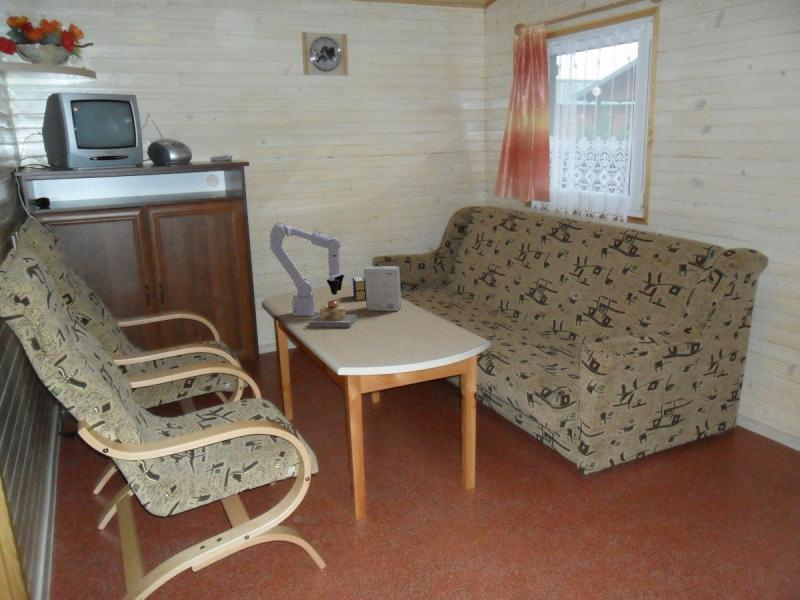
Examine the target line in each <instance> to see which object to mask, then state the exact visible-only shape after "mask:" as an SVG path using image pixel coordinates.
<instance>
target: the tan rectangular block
mask: <svg viewBox="0 0 800 600" xmlns="http://www.w3.org/2000/svg"><path fill="white" fill-rule="evenodd" d="M346 309H347V308H346V305H337V308H328V304H326V305H325V304H323V305H322V306H321V307H320V308H319V312H320V317H321V320H343V319H344V318H345V317H346V315H347V312H346V311H347V310H346Z"/></svg>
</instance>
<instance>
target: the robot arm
mask: <svg viewBox="0 0 800 600" xmlns="http://www.w3.org/2000/svg"><path fill="white" fill-rule="evenodd" d="M292 236H294V237H298V238H301V239H306V240H309V241H310V242H311V244H312V245H313V246H318V247H319V248H320V247H321V248H324V249H328V254H327V259H328V278H329V279H326V283H327V284H328V286H329V289H330V293H331V295H335V296H336V295H337V294H338V291H339V292H340V291H341V290H342V286H343V281H344V278H345V272H342V260H341V259H342V258H341V244H340V240H339V239H338V238H337V237H335V236H332V235H326V234H324V233H322V232H321V231H318V232H317V231H315V232H313V233H312V232H309V231H307V230H303V229H300V228H298V227H295V226H293V225H290V224H284V223H281V222H277V223H275V224H274V225H273V227H272V229H271V231H270V234H269V239H270V241H269V242H270V243H269V244H270V250H271V251H272V253H273V254H274V256H275V257H276V259H277V260H278V261H279V263H280V264H281V266H282V267H283V268H284V270H285V272H287V274H288V275H289V277H290V278H291V280H292V281H293V283H294V286H295V288H296V290H297V294H296V295H293V296H292V302H291V303H292V317H293V316H295V317H297V316H298V317H302V316H303V317H306V316H307V317H312V316H314V315H315V314H316V313H317V310H315V305H314V304H315V303H314V293H313V292H312V288H313V287H312V282H311V281H310V280H309V279H306V278H305V276H304V275H303V274H302V272H301V270H299V269H298V267H297V266H296V264H295V263H294V262H293V260H292V259H291V257H290V255H289V254H288V253H287V252H286V250H285V248H284V247H283V241H284V239H285V237H286V238H289V237H292Z"/></svg>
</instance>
